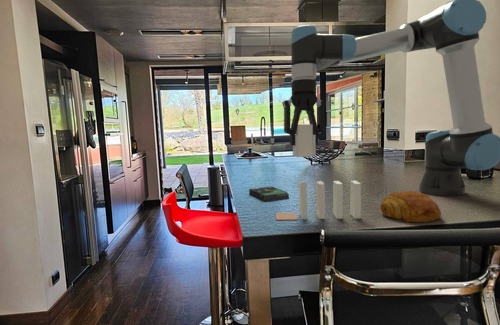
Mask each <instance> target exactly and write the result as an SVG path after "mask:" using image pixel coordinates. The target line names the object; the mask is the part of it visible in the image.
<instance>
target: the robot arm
mask: <svg viewBox="0 0 500 325" xmlns="http://www.w3.org/2000/svg"><path fill="white" fill-rule="evenodd" d="M486 22H487V11H486V8H485V7H484V5H483V4H482V2H481V1H480V0H451V1H448V2H447V3H445V4H444V5H442V6H440V7H438V8H437V9H435V10H433V11H431V12H429V13H426V14H425V15H424V16H422V17H420V18H418V19H416V20H414V21H411V22H409V23H404V24H402V25H401V26H400V27H399V28H396V29H391V30H387V31H382V32H378V33H372V34H369V35H364V36H359V37H355V36H354V35H353V34H345V33H342V34H336V33H335V34H333V33H332V34H329V33H328V34H325V33H324V34H322V33H321V34H320V33H318V31H317V28H316V26H314V25H311V24H304V25H299V26H298V25H297V26H296V27H294V28H293V29H292V30H291V41H290V47H291V49H290V50H291V54H290V55H291V79H292V81H291V96H290V98H289V99H287V100H283V101H282V102H281V103H282V106H283V133H284V134H286V135H287V134H288V135H289V144H290V146H292V156H293V157H296V156H298V135H296V131H297V127H298V125H299V122H300V117H301V114H302V112H303V111H305V113H306V114H307V117H308V123H309V124H313V135H312V156H311V157H315V156H317V155H316V146H317V145H318V144H319V135H320V134H321V133H324V131H325V106H326V103H327V101H326V100H323V99H322V100H321V99H319V98H318V96H317V79H316V78H317V71H322V70H324V69H326V68H330V67H335V66H338V65H342V64H347V63H352V62H357V61H361V60H364V59H365V60H366V59H369V58H374V57H378V56H383V55H387V54H388V55H389V54H391V53H396V52H400V51H401V52H402V53H409V52H415V51H416V52H417V51H421V50H429V49H430V50H431V49H435V53H438V54H439V55H441V56H442V63H443V68H444V69H443V70H444V74H445V81H446V82H445V83H446V86H447V94H448V99H449V105H450V112H451V113H450V114H451V118H452V119H451V120H452V128H451V129H448V130H438V131H433V132H432V131H431V132H429V133H427V134H426V136H425V142H424V145H425V146H424V147H425V150H424V172H423V174H422V178H421V179H420V182H419V185H418V191H419V192H420V193H422V194H426V195H433V196H434V195H435V196H451V197H452V196H453V197H455V196H456V197H457V196H463V195H465V194H467V193H466V189H467V188H466V184H465V181H464V179H463V176H462V172H461V170H462V169H467V170H468V169H469V170H471V171H478V170H479V171H486V170H490V169H492V168H494V167H495V166H497V165H498V164H499V162H500V136H498V135H497V134H495V133H494V132H493V126H492V124H489V123H488V122H487V121H486V120H485V119H486V118H485V112H484V111H485V110H484V105H483V99H482V98H483V97H482V92H481V84H480V76H479V72H478V71H479V70H478V63H477V58H476V57H477V55H476V49H475V46H476V45H477V44H478V42H479V41H480V31H481V30H482V29H483V28H484V26H485V24H486ZM292 105H293V107H294V110H293V116H292V121H291V106H292ZM315 105H316V115H315V108H314V106H315Z"/></svg>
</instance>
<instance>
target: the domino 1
mask: <svg viewBox="0 0 500 325" xmlns="http://www.w3.org/2000/svg"><path fill="white" fill-rule="evenodd" d="M295 135H298V156H295V157H296V158H305V157H306V158H310V157H313V156H312V135H313V124H310V123H309V124H306V123H305V124H298V127H297V131H296V134H295Z"/></svg>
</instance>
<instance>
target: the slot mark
mask: <svg viewBox="0 0 500 325" xmlns="http://www.w3.org/2000/svg"><path fill="white" fill-rule="evenodd" d="M275 218H276V221H298V216H297V214H296V212H275Z"/></svg>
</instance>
